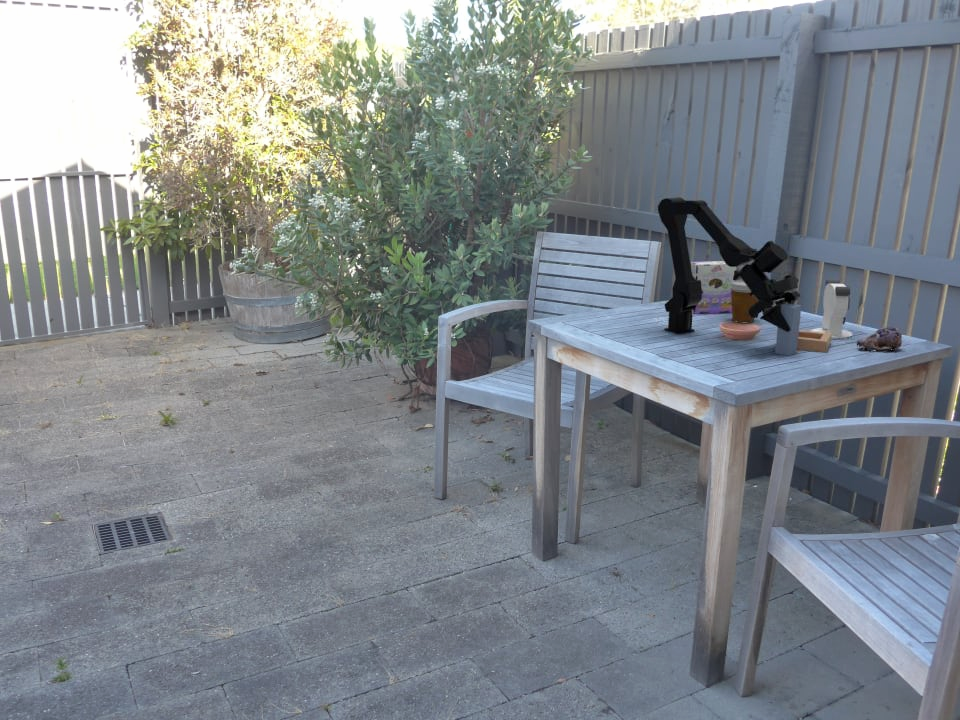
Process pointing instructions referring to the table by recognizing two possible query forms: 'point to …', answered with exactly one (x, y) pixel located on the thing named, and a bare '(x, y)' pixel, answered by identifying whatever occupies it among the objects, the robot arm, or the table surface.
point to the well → (814, 341)
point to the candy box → (714, 286)
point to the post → (789, 340)
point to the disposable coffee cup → (741, 301)
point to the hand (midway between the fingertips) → (793, 329)
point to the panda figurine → (835, 309)
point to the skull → (882, 339)
